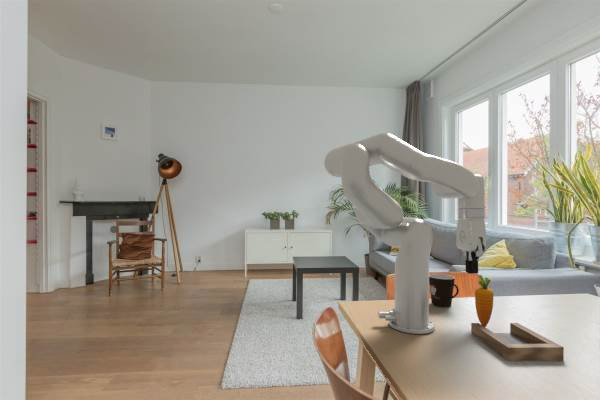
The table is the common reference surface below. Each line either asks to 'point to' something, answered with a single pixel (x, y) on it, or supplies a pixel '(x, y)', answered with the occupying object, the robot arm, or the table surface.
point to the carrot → (484, 301)
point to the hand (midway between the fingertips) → (471, 272)
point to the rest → (519, 343)
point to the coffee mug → (442, 289)
